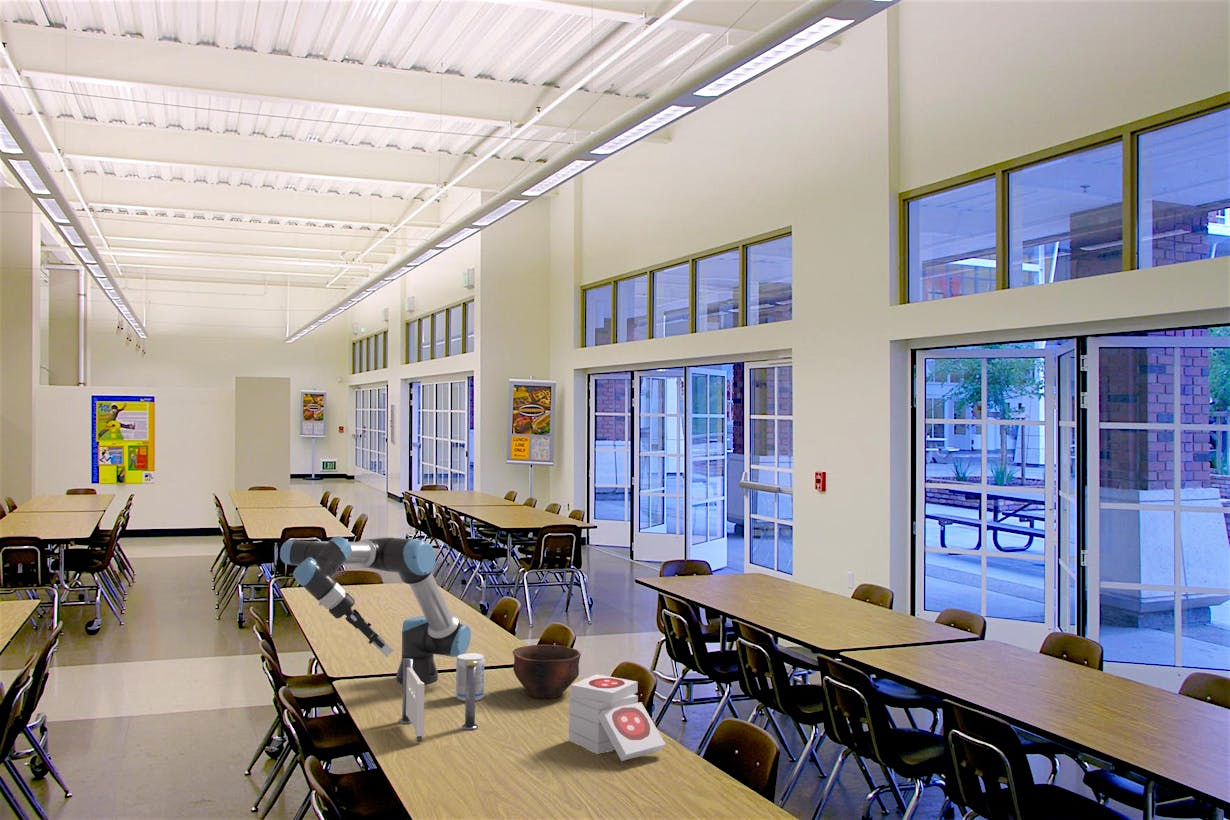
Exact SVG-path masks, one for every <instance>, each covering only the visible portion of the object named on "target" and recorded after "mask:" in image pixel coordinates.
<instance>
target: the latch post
mask: <svg viewBox="0 0 1230 820" xmlns="http://www.w3.org/2000/svg"><path fill="white" fill-rule="evenodd" d="M477 664H478V661H477V660H466V661H465V665H466V701H465V706H464V707H465V708H464V709H465V710H464V711H465V713H464V716H465V718H464V719H465V720H464V724H462V725H461V729H462V730H464V731H476V730H477V729H478V728H479V726H478V723H477V724H476V722H475V721H476V701H475V685H476V665H477Z"/></svg>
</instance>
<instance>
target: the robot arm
mask: <svg viewBox="0 0 1230 820" xmlns="http://www.w3.org/2000/svg"><path fill="white" fill-rule="evenodd" d="M279 556H280V560H281V561H282V563H284V564H286V565H289V566H290V565H291V566H296V567H295V569H294V571H293V574H292V575H293V577H294V579H295V580H296V581H297V582H298V583H299V584H300V586H301V587H302V588H303V589H305V590H306V591H307V592H308V593H309V594H310V595H311V596H312V597H313V598H314V599H315V600H316V601H318V602H319V603H318V605H319V606H320V607H321V606H323V608H324V609H326V610H328V612H329V614H331V616H333V617H334V618H335V619H341V618H342V617H343V616H346V617H345V620H346V622H348V623H349V624H351V625H352V626H353V627H354V628H355V629H358V630H359V631H360V632H361V633H362V634H363V635H364V636H365V637H366V638H367V639H368V640H369V641H368V644H369V645H371V644H372V645H373V646H375V647H376V649H378V650H379V651H380V652H381V653H382V655H384V656H385V657H386V658H387V657H389V656H390V654H392V653H393V651H394V649H393V648H392V647H391V646H390V645H389V644H387V642H386V641H385V639H384V638H383V637H381V635H380V634H379V633H377V631H376V630H374V628H372V627H371V626H372V624H371V623H370V622H368V623H367V621H365V618H363V617H362V615H361V614H360V613H359V611H358V610H357V609H356V608H354V609H353V608H352V607H353V606H355V603H356V600H355V598H354V597H352V596H351V594H349V593H348V592H346V589H345V588H344V587H343V586H341V584H339V582H337V581H336V579H335V578H334V577H333V576H334V575H335V574H336V573H337V571H339V569H340V568H341V567H342V566H357V567H359V568H362V569H363V568H365V569H367V568H368V569H372V570H378V571H383V572H388V573H389V572H391V573H397V574H398V575H399V577H400V579H401V581H402V582H403V583H404V584H406V585H409V587H410V589H411V591H412V593H413V595H414V598H415V599H416V601H417V603H418V606H419V608H420V609H421V611H422V613H423V615H422V616H421V615H420V616H415V617H409V618H407V619H405V620H404V621H403V623H402V629H401V660H400V663H399V665H398V666H399V667H398V669H397V672H396V680H397V681H398V682H397V681H396V680H395V681H396V682H397V683H399V682H400V684H402V683H403V659H405V658H412V659H413V670H414V672H415V673H416V675H417V676H418V677H419V679H420V680H421V682H424V685H427V683H428V684H431V683H434V682H436V681H438V680H439V671H438V669H437V665H436V662H435V659H434V655H438V656H443V657H451V658H455V657H456V658H457V656H458V655H461V654H466V652H467V651H468V650H469V647H470V644H471V640H472V639H471V638H472V631H471V628H470V626H469V625H467V624H465V623H464V624H462V623H461V622H460V620H459V619H458V617H457V615H456V614H455V613H451V611H450V609H449V607H448V605H447V603H446V601H445V598H444V595H443V594H442V592H441V590H440V588H439V586H438V584H437V581H436V579H435V577H434V575H433V571H434V568H435V565H436V559H435V558H436V552H435V549H434V547H433V546H432V544H431V543H429V542H428V541H427V540H422V539H418V538H417V539H416V538H414V539H413V538H401V537H400V538H398V537H380V538H379V537H378V538H368V539H367V538H363V539H360V540H358V541H349V540H347V538H344V537H342V536H334V537H332V538H331V539H330V540H328V541H326V540H325V541H324V540H323V541H319V540H318V541H317V540H315V541H313V540H297V539H296V540H295V539H294V540H292V539H291V540H287V541H285V542H284V543H283V544H282V545H281V547H280V552H279Z"/></svg>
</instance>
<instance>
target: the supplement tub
mask: <svg viewBox="0 0 1230 820" xmlns="http://www.w3.org/2000/svg"><path fill="white" fill-rule="evenodd" d="M466 660H477V661H478V664H477V665H476V685H475V702H477V701H480V700H482V699H483V698H484V695H485V688H484V687H485V678H484V677H485V657H484V654H481V653H477V652H475V653H474V652H473V653H472V652H469V653H466V652H465V654H461V655H458V656H457V657H456V665H455V666H456V669H455V670H456V675H455V676H456V678H455V682H456V683H455V688H456V690H455V691H456V692H455V696H456V699H457V700H459V701H462V702H466V665H465V661H466Z"/></svg>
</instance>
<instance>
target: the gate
mask: <svg viewBox="0 0 1230 820" xmlns="http://www.w3.org/2000/svg"><path fill="white" fill-rule="evenodd" d="M424 713H425V684H424V682H421V680H420V679H419V677H418V676H417V675H416V673H415V672H414V670H413V668H412V667H409V668H407V686H406V716H407V717H408V718H409V720H410V722H411V723H412V724H411V725H412V726H413V728H414V730H415V736H416V742H417V743H420V742H423V741H422V740H423V736H424V726H425V724H424V720H425V719H424V717H425V714H424Z"/></svg>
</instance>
